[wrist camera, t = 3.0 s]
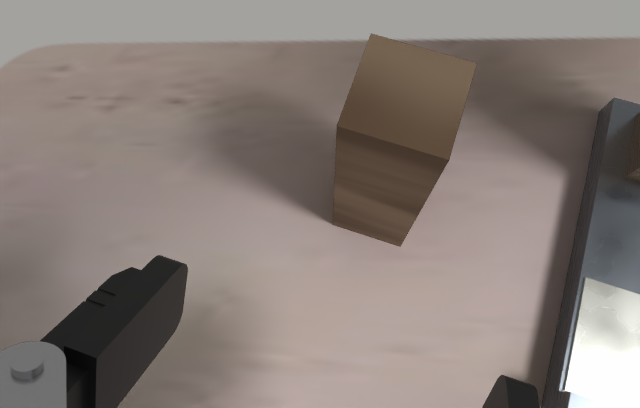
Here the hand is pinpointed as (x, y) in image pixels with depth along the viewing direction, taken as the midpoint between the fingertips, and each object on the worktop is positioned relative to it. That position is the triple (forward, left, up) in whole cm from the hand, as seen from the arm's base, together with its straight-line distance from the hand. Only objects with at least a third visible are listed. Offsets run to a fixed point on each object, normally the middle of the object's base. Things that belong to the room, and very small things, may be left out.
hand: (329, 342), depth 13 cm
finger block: (-8, 0, -12) cm, 15 cm away
